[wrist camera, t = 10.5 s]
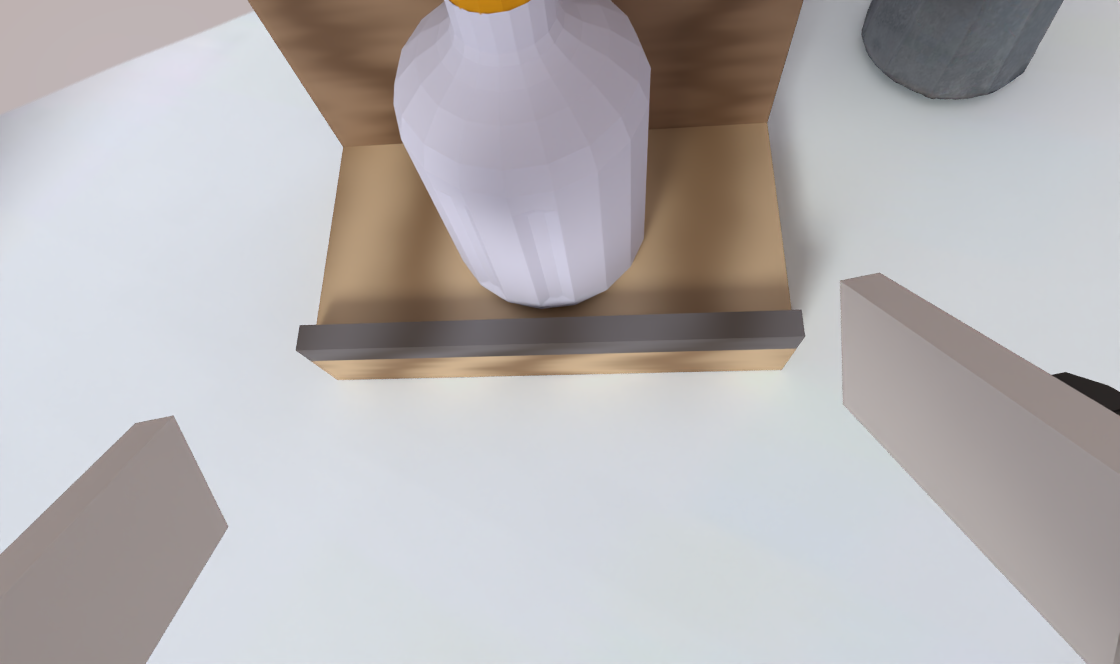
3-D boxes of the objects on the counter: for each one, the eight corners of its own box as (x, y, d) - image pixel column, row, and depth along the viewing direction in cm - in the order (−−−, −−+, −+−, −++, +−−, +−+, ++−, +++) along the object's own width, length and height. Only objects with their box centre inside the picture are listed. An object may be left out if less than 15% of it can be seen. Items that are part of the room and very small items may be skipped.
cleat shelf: (337, 379, 33) (-1119, -650, 6) (367, 157, 38) (-331, -985, 10) (781, 369, 31) (1985, -1346, 4) (753, 136, 36) (1165, -1359, 8)
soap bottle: (576, 347, 30) (397, -459, 7) (422, 252, 32) (-81, -564, 9) (681, 200, 32) (810, -780, 9) (529, 122, 34) (331, -794, 12)
